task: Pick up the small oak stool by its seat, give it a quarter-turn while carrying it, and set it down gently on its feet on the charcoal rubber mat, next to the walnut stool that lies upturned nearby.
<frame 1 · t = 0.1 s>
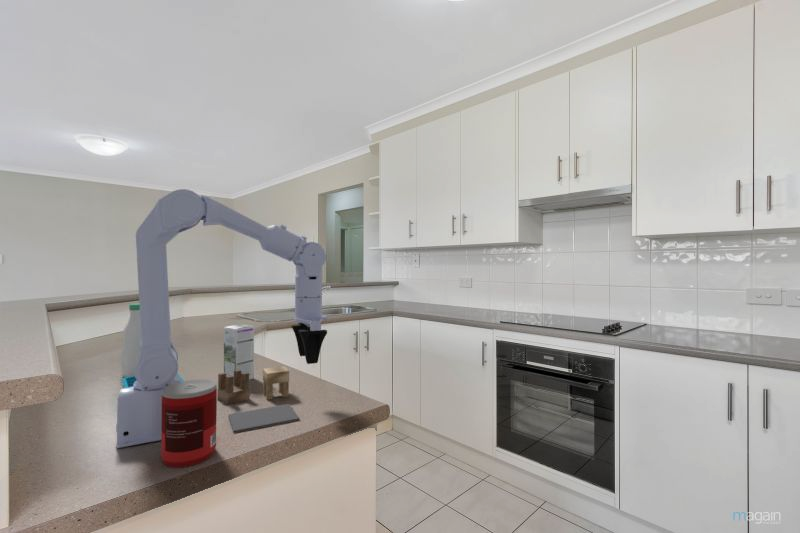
hand: (308, 359, 82), 10 cm above the counter, tool pointing down, fingers open, 7 cm apart
milk bottle: (138, 375, 106), on the counter
mat: (263, 418, 75), on the counter
ice cube tray: (154, 396, 89), on the counter
upturned walnut stool: (233, 399, 86), on the counter
oak stool: (275, 395, 89), on the counter
syrup box: (238, 380, 101), on the counter
canned food: (189, 456, 60), on the counter
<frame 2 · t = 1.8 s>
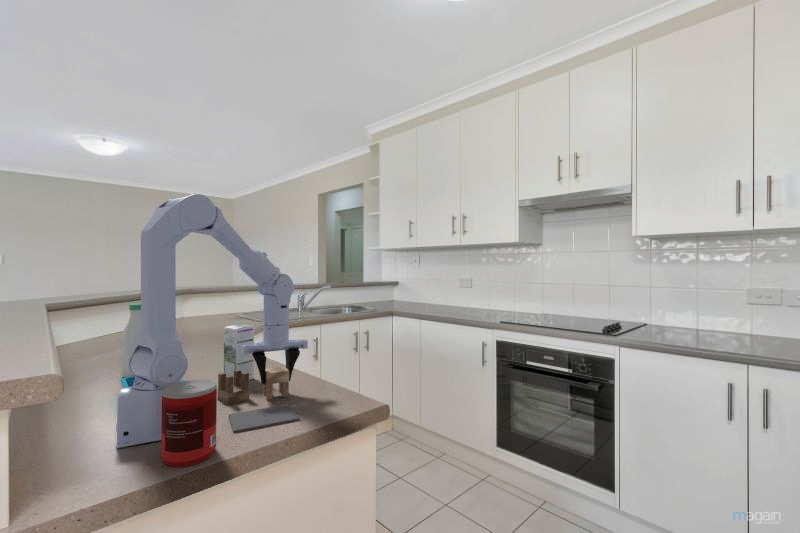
hand: (275, 381, 89), 3 cm above the counter, tool pointing down, fingers closed on oak stool, 5 cm apart
oak stool: (275, 395, 89), on the counter, touching gripper
everything else where it was.
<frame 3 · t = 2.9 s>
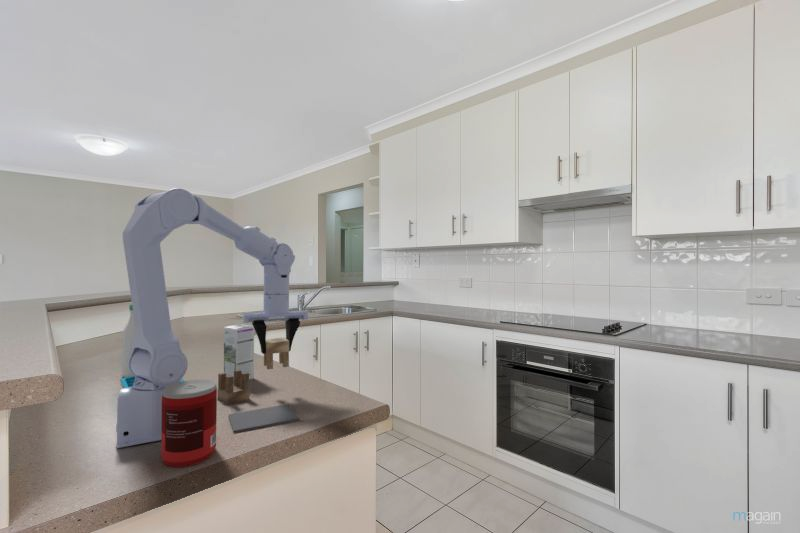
hand: (276, 351, 89), 10 cm above the counter, tool pointing down, fingers closed on oak stool, 5 cm apart
oak stool: (276, 365, 89), point 7 cm above the counter, touching gripper
everything else where it was.
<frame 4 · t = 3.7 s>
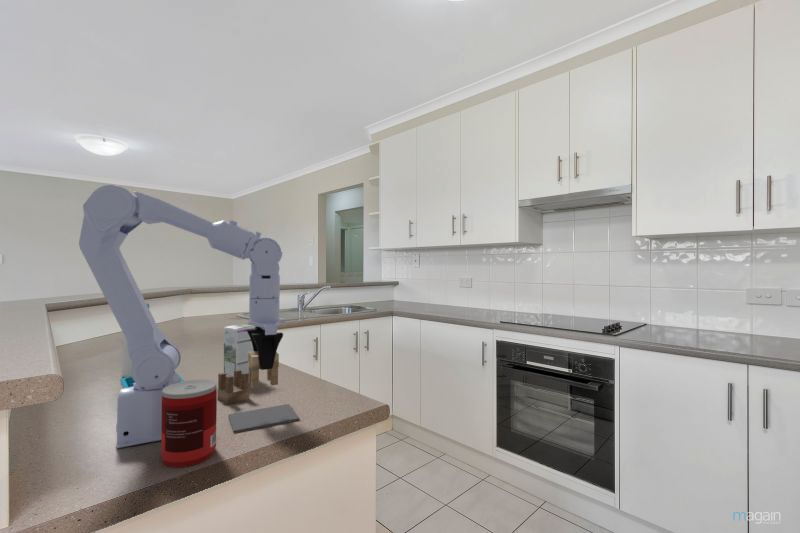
hand: (264, 365, 75), 10 cm above the counter, tool pointing down, fingers closed on oak stool, 5 cm apart
oak stool: (263, 383, 75), point 7 cm above the counter, touching gripper
everything else where it was.
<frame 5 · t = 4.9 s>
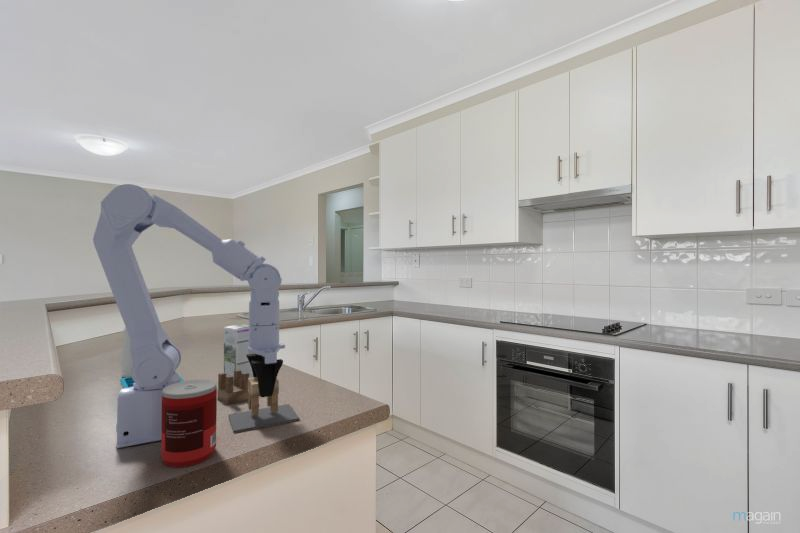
hand: (263, 392, 75), 5 cm above the counter, tool pointing down, fingers closed on oak stool, 5 cm apart
oak stool: (262, 409, 75), point 2 cm above the counter, touching gripper
everything else where it was.
when the fingers open (4 cm above the counter, at t = 5.7 s): oak stool stays where it is, resting on mat.
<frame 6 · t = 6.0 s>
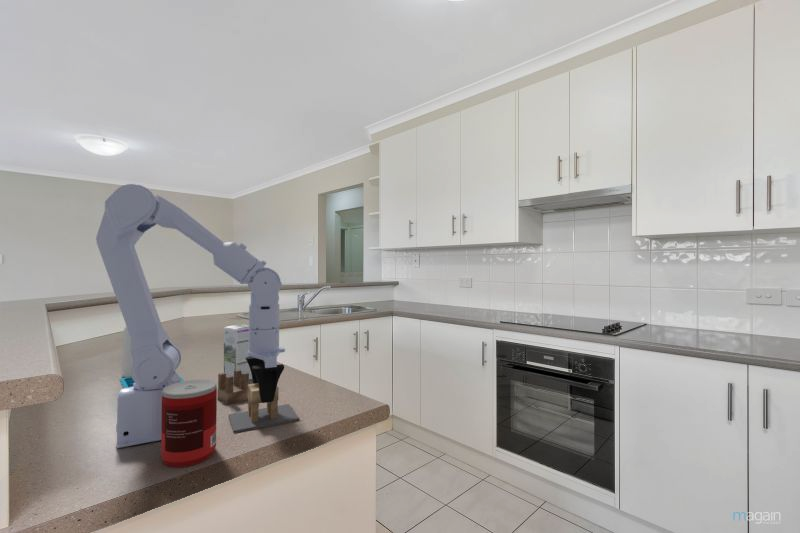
hand: (263, 395, 75), 4 cm above the counter, tool pointing down, fingers open, 7 cm apart
oak stool: (262, 416, 75), resting on mat
everything else where it was.
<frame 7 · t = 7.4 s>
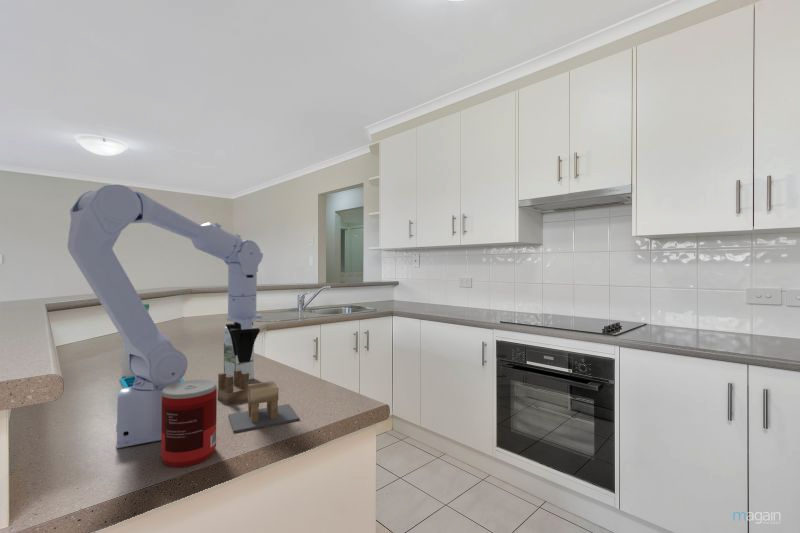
hand: (241, 358, 81), 10 cm above the counter, tool pointing down, fingers open, 7 cm apart
nothing on the counter moved.
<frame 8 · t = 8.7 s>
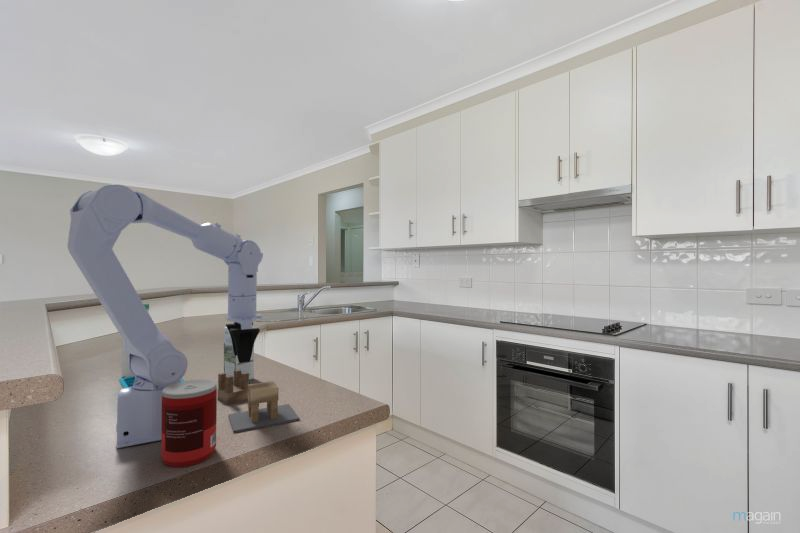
hand: (241, 358, 81), 10 cm above the counter, tool pointing down, fingers open, 7 cm apart
nothing on the counter moved.
at the end: oak stool inside the target area on the mat (0.2 cm from its centre), point 0.4 cm above the mat's base; oak stool tilted 0°; the gripper is holding nothing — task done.
